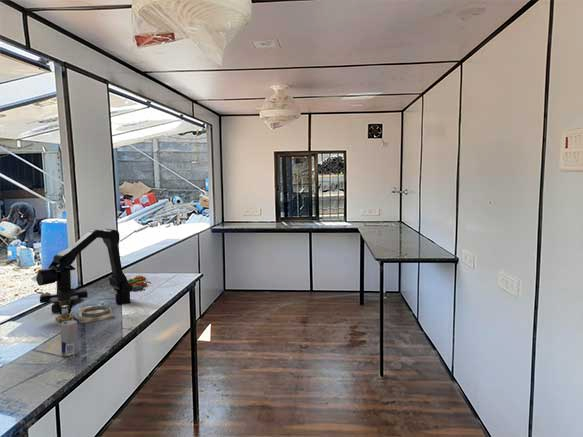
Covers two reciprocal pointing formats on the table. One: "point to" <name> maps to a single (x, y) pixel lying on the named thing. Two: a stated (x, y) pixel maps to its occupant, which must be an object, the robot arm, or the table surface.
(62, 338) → the energy drink
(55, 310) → the hand tool
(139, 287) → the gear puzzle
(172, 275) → the table surface
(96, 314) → the gear board
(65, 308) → the bronze gear
